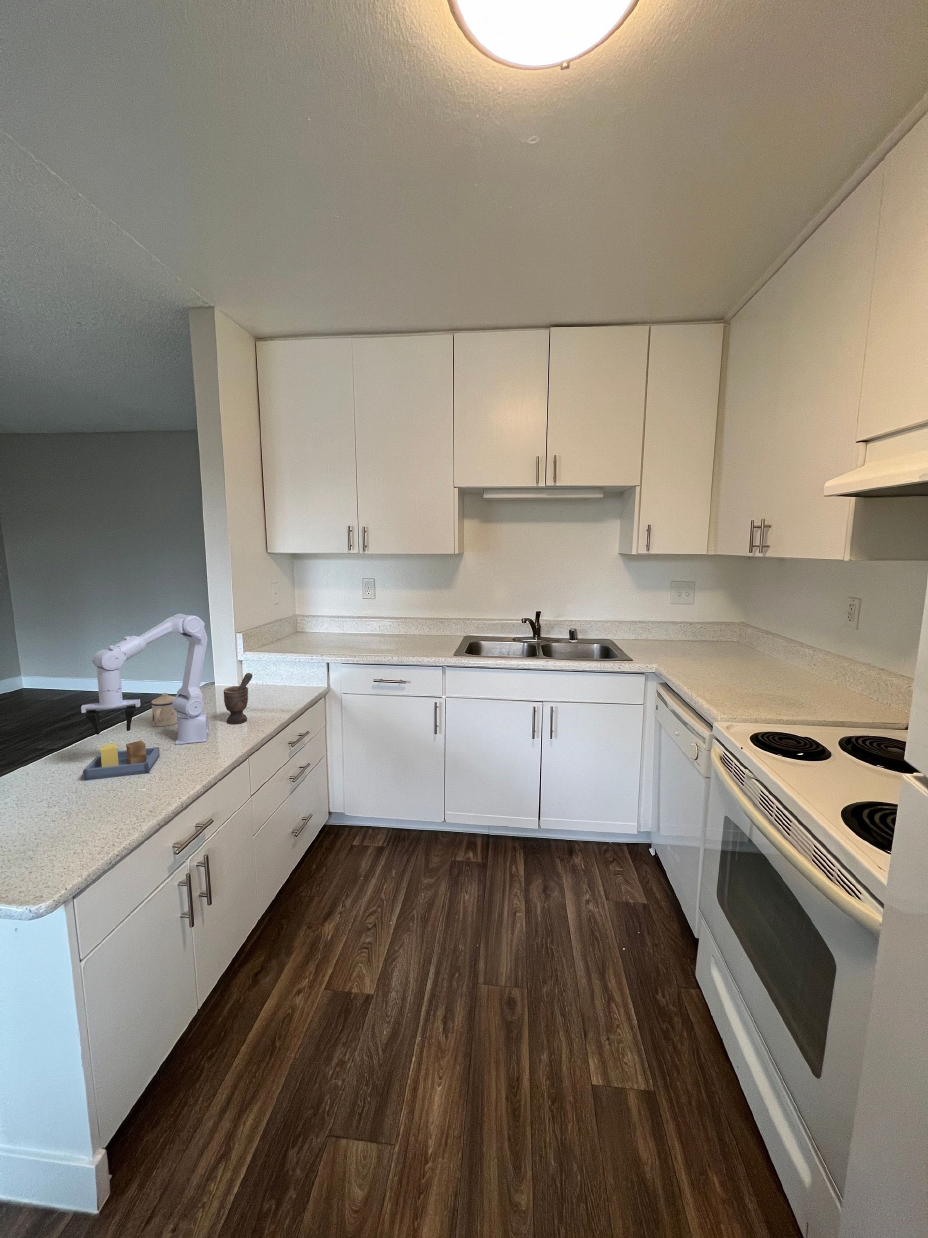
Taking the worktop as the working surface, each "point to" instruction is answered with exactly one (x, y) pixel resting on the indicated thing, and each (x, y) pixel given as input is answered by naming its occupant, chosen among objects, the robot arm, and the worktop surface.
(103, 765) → the mustard block
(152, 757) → the slate blue tray
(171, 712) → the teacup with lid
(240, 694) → the mortar and pestle
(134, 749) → the walnut block
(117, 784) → the worktop surface
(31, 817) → the worktop surface
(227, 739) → the worktop surface
